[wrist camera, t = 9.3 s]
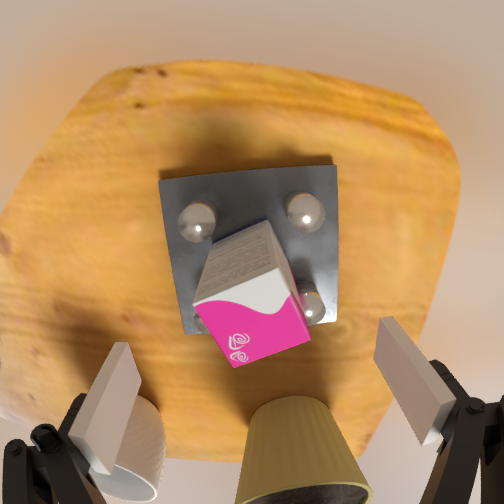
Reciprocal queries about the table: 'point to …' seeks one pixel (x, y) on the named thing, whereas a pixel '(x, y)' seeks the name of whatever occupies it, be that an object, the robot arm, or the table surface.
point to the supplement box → (250, 296)
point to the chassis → (248, 213)
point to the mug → (137, 457)
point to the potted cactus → (298, 457)
